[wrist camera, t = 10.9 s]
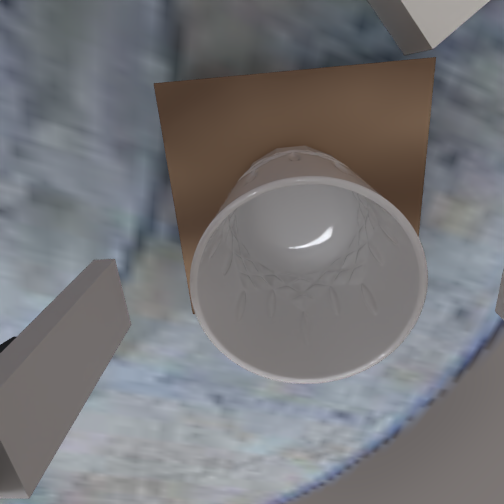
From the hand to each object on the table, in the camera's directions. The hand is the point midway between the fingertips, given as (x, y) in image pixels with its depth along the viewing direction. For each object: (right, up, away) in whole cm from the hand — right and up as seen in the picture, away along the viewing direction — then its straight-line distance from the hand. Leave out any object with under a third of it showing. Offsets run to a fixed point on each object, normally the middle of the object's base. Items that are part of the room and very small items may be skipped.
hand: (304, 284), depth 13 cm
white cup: (+1, +4, +9) cm, 10 cm away
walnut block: (+1, +6, +14) cm, 16 cm away
